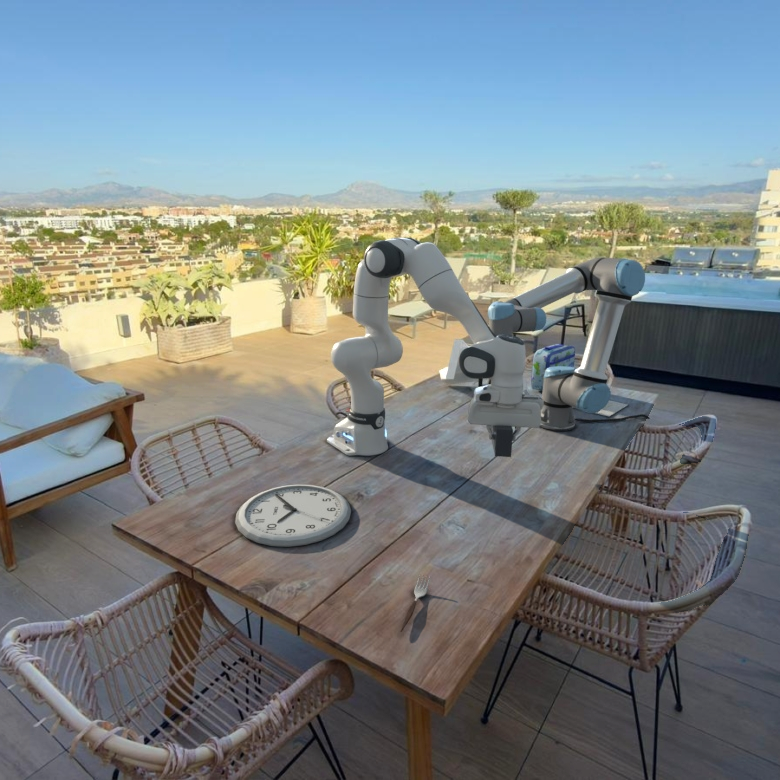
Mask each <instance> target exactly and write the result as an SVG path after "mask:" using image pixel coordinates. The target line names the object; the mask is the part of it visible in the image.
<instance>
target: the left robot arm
mask: <svg viewBox="0 0 780 780" xmlns="http://www.w3.org/2000/svg"><path fill="white" fill-rule="evenodd" d="M363 255H364V256H363V259H362V260H361V261H360V262H359V263H358V266H357V268H356V272H355V277H354V285H353V298H352V300H353V301H352V318H353V319H354V320H355V322H356V323H358V324H359V325H360V326H362V327H364V331H365V335H364V336H358V337H357V336H356V337H350V338H349V337H348V338H345V339H342V340H340V341H338V342H335V343H334V345H333V346H332V348H331V350H330V351H331V352H330V360H331V363H332V365H333V367H334V369H336V370H337V371H338V372H339V373H341V374H342V375H343V376H344V378H345V379H346V380H347V383H348V385H349V389H350V390H349V391H350V392H349V393H350V407H348V408H345V412H344V411H337V412H336V413H335V415H336V416H338V415H343V416H344V417H345V418H343V419H342V420H341V421H339V422H338V423H336V425H335V426H334V427H333V434H331V435H330V436H329V437H327V439H326V443H328V444H329V445H330V446H332V447H334V448H336V449H337V450H339V451H340V452H341V453H343V454H345V456H348V457H349V456H367V457H368V456H377V455H380V454H383V453H385V452H386V451H387V450H388V449H389V446H388V445H389V444H388V437H387V434H388V433H387V429H386V422H385V420H386V408H385V388H384V386H383V384H382V383H381V382H380V381H378V380H376V379H374V378H373V377H372V370H376V369H380V368H387V367H390V366H392V365H394V364H396V363H399V362H400V361H401V359H402V357H403V353H404V347H403V343H402V341H401V340H400V338H399V337H398V336H396V334H395V333H394V332H393V331H392V329H391V326H390V321H389V300H390V299H389V297H390V284H391V280H392V279H393V278H398V277H402V276H405V275H408V276H409V277H411V278H412V280H413V281H414V283H415V285H416V288H417V290H418V291H419V293H420V295H421V297H422V298H423V300H424V301H425V303H426V304H427V305H428V306H429V307H430V309H432V310H434V311H437V312H441V313H444V314H446V315H450V316H452V317H454V318H455V319H456V320H457V321H458V322H459V323H460V324H461V325H462V327H463V329H464V330H465V332H466V334H467V335H468V336H469V338H470V340H471V341H472V343H473V344H471V345H468V346H469V347H467V348H465V349H464V350H463V351H462V352H461V354H460V357H459V366H460V369H461V371H462V372H463V373H464V374H465V375H466V376H467V377H469V378H473V379H483V380H484V379H488V380H489V379H491V384H490V385H487V384H486V385H482V387H478V386H477V387H476V388H474V390H473V397H472V398H471V400H470V402H469V407H468V411H467V422H468V423H469V424H470V425H477V426H485V427H486V430H487V432H488V434H489V435H488V438H489V440H491V441H492V440H494V439H495V433H494V432H492V431H491V428H492V425H493V426H496V425H499V426H512V428H514V429H515V430H513V438H512V442H516V440H517V439H516V438H517V435H518V434H519V433H520V432H521V429H522V428H526V429H527V428H528V429H538V428H540V427H539V426H540V425H541V410H542V408H543V404H544V401H543V399H542V396H540V395H538V394H530V395H526V394H525V393H524V391H523V375H524V373H525V370H526V362H527V361H526V358H527V357H526V356H527V355H526V354H527V353H526V349H527V348H526V343H525V342H524V340H522V339H521V338H520V337H518V336H517V335H514V334H513V335H507V334H501V335H498V336H496V335H495V334H494V333H493V332H492V331H491V329H490V328H489V324H488V323H487V321H486V320H485V319H484V317H483V315H482V314H481V312H480V310H479V309H478V307H477V306H476V304H475V303H474V302H473V300H472V299H471V297H470V296H469V295H468V293H467V292H466V290H465V289H464V287H463V285H462V284H461V282H460V280H459V279H458V277H457V275H456V273H455V271H454V269H453V268H452V266H451V265H450V263H449V261H448V260H447V258H446V257H445V255H444V254H443V253H442V251H441V250H440V249H439V248H438V247H437V245H436V244H434V243H432V242H422V243H421V242H420V241H419V240H418V239H415V238H411V237H393V238H389V239H380V240H377V241H373V243H371V244H369V245H368V246H367V247H366V249H365V252H364V254H363ZM523 393H524V394H523Z"/></svg>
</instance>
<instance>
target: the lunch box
mask: <svg viewBox="0 0 780 780" xmlns="http://www.w3.org/2000/svg"><path fill="white" fill-rule="evenodd" d="M575 357H576V349H575V346H572V345H565V344H560V343H555V344H552V345H547V346H545V347H542V348H539V349H537V350H536V351H535V353H534V355H533V358H532V363H531V364H532V365H531V376H530V377H531V378H530V387H531V389H532V390H536V391H539V392H540V391H541V392H542V391H543V380H544V374H545V370H546V369H547V368H549V367H556V366H567V367H574V368H575V360H576V358H575Z"/></svg>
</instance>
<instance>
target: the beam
mask: <svg viewBox="0 0 780 780" xmlns="http://www.w3.org/2000/svg"><path fill="white" fill-rule="evenodd" d="M491 431H492V432H494V433H495V439H494V440H491V443H492V449H493V453H494V454H493V455H494V457H502V458H503V457H504V458H511V457H512V450H513V449H512V448H513V441H512V438H513V432H514V427H512V426H499V425H496V426H493V425H492V428H491Z"/></svg>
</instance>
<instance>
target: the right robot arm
mask: <svg viewBox="0 0 780 780" xmlns="http://www.w3.org/2000/svg"><path fill="white" fill-rule="evenodd" d="M645 282H646V272H645V270H644V268H643V266H642V264H641V263H640V262H639V261H637V260H634V259H630V258H620V257H619V258H618V257H616V258H615V257H601V256H600V257H595V258H591V259H588V260H585V261H583V262H580V263H578V264H576V265H574V266H572V267H570V268H568V269H567V270H566V271H565V273H564V274H561V275H558V276H556V277H555V278H553V279H551V280H548V281H545V282H544V283H542V284H540V285H538V286H536V287H534V288H531V289H529V290H527V291H525V292H523V293H521V294H519V295H517V296H515V297H512V298H510V299H507V300H506V301H502V300H499V301H497V300H496V301H494V302H492V303H491V304H490V305H489V306H488V308H487V316H488V319H489V320H488V326H489V328H490V329H491V331H492V332H493V333H494V334H495V335H496V336H498V335H501V334H507V335H513V336H514V333H528V332H532V333H533V332H536V331H542V330H543V329H544V328H545V326H546V324H547V314H546V312H545V310H544V309H543V308H545V307H547V306H549V305H551V304H553V303H555V302H558V301H559V300H561V299H564V298H566V297H569V296H570V295H572V294H581V293H583V292H586V291H596V293H595V296H596V298H597V300H598V302H597V305H596V309H595V313H594V316H593V320H592V324H591V327H590V330H589V334H588V336H587V337H588V338H587V341H586V343H585V348H584V352H583V355H582V358H581V362H580V366H579V367H577V368H576V367H575V366H574V367H567V366H556V367H549V368H547V369H546V370H545V374H544V380H543V391H541V398H542V399H543V401H544V404H543V408H542V410H541V425H540V426H539V427H538V428H542V429H544V430H549V431H556V432H567V431H572V430H574V429H575V428H576V422H583V423H604V422H620V421H626V420H629V419H636V418H645V419H647V420H650V419H651V418H650V417H649V416H648V415H647V414H645V413H644V414H642V413H641V414H635V415H629V416H624V417H618V418H617V417H616V418H597V419H593V418H592V419H587V418H586V419H585V418H577V417H576V416H575V413H574V409H575V410H578V411H579V412H583V413H586V414H596V412H599V411H600V410H601V409H603V408H604V407H605V406H606V405H607V403H608V401H609V400H610V399H611V395H612V393H611V388H610V387H609V385H608V379H609V377H608V375H607V374H606V371H607V367H608V363H609V360H610V357H611V353H612V350H613V346H614V343H615V340H616V336H617V333H618V331H619V327H620V324H621V320H622V316H623V313H624V310H625V306H627V305H628V304H630V303H631V302H632V299H633V297H635V296H637V295H639V294H640V292H641V291H642V290H643V288H644V286H645ZM483 382H484V379H479V381H478V382H477V383H478V384H477V388H478V387H482V386H483ZM490 384H491V379H489V378H488V381H487V383H486V385H490Z"/></svg>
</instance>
